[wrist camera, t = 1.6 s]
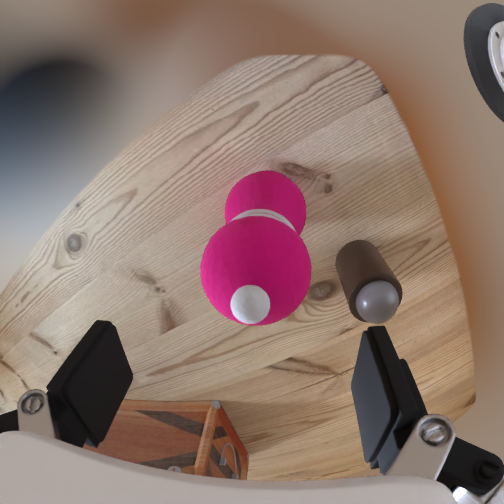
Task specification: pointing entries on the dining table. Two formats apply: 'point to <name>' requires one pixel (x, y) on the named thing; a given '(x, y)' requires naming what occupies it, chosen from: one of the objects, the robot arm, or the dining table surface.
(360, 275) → the salt shaker
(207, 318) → the dining table surface
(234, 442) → the wooden box
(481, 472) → the robot arm
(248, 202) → the pepper mill
